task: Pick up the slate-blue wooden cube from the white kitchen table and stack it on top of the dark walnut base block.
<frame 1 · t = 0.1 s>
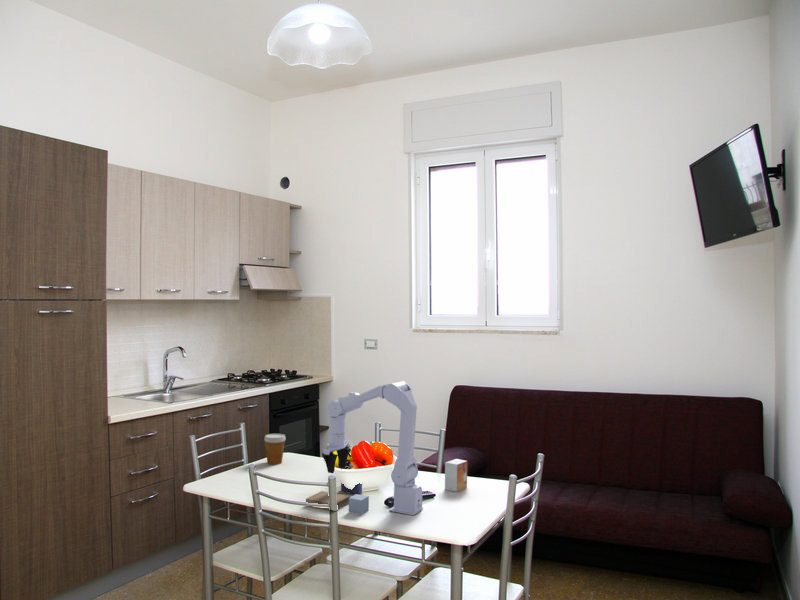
hand: (336, 470, 225), 10 cm above the table, fingers open, 7 cm apart
disposable coffee cup: (274, 463, 272), on the table
slate cube: (358, 511, 211), on the table
walnut base: (328, 504, 217), on the table
small box: (455, 489, 239), on the table
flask: (351, 492, 232), on the table
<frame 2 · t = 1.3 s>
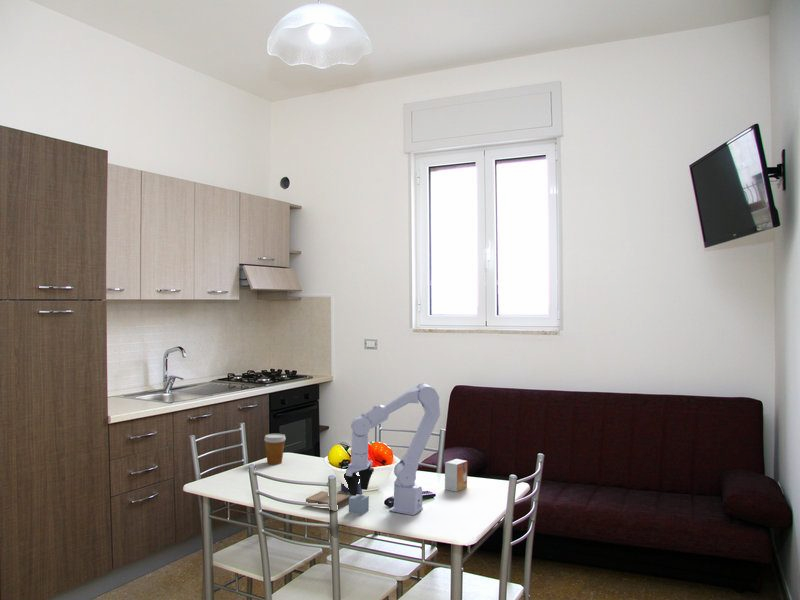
hand: (358, 492, 211), 7 cm above the table, fingers open, 7 cm apart
nothing on the table moved.
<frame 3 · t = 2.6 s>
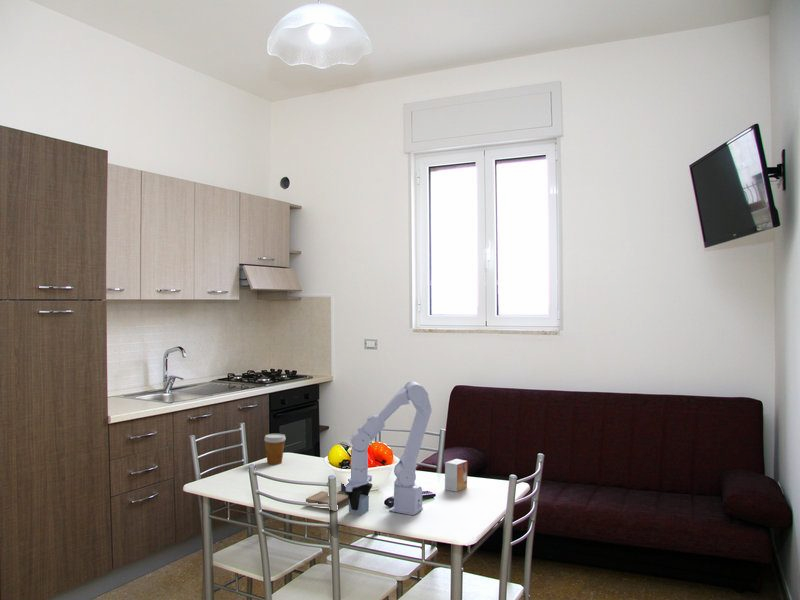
hand: (358, 507, 211), 1 cm above the table, fingers closed on slate cube, 5 cm apart
slate cube: (358, 511, 211), on the table, touching gripper
everything else where it was.
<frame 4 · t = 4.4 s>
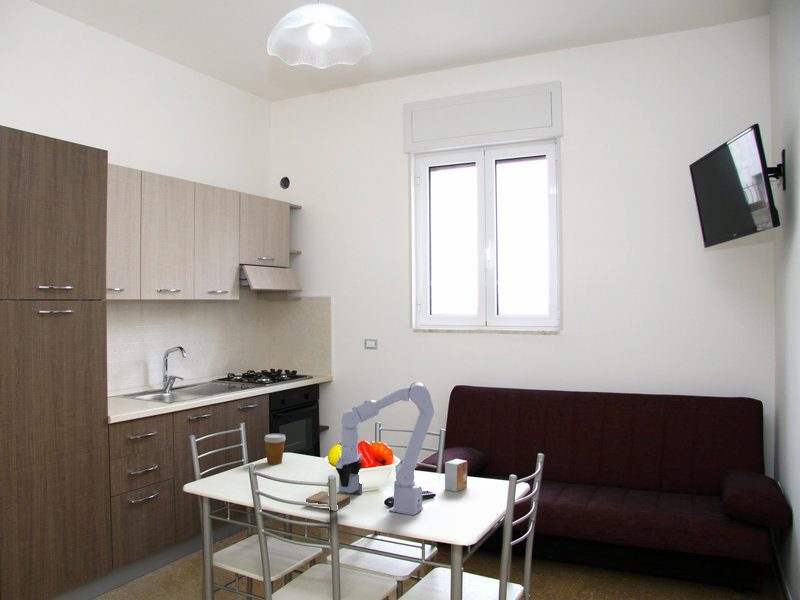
hand: (348, 484, 213), 9 cm above the table, fingers closed on slate cube, 5 cm apart
slate cube: (348, 489, 213), point 7 cm above the table, touching gripper
everything else where it was.
when the fingers open (5 cm above the table, at t = 6.5 s): slate cube stays where it is, resting on walnut base.
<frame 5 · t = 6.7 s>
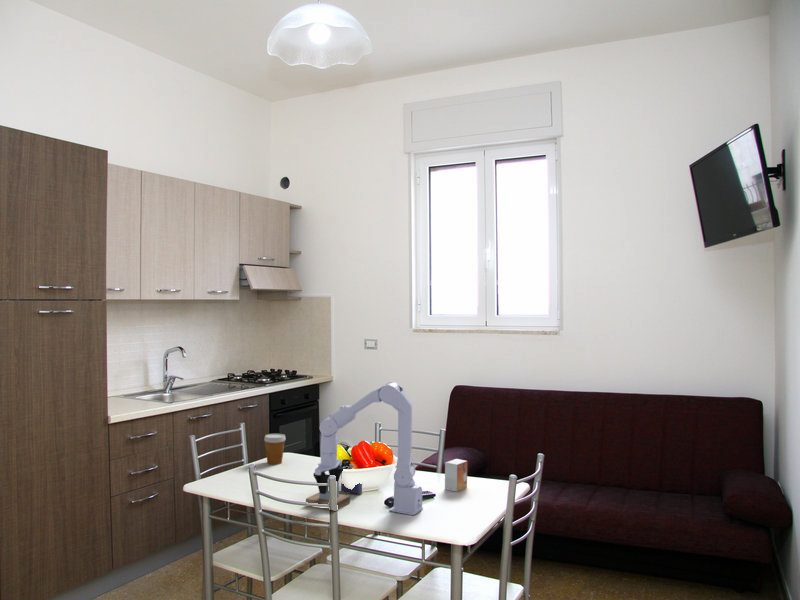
hand: (328, 490, 217), 5 cm above the table, fingers open, 7 cm apart
slate cube: (329, 497, 217), point 2 cm above the table, touching walnut base
everything else where it was.
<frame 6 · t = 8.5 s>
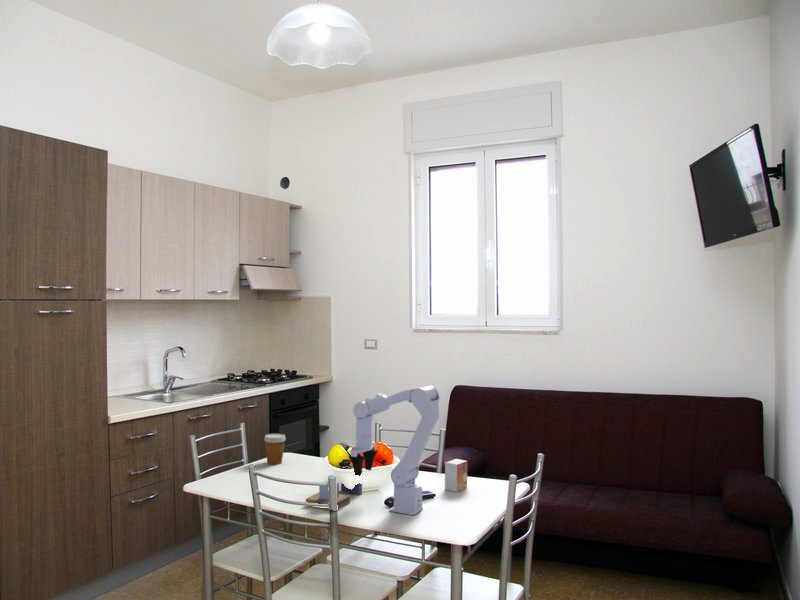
hand: (363, 472, 221), 10 cm above the table, fingers open, 7 cm apart
nothing on the table moved.
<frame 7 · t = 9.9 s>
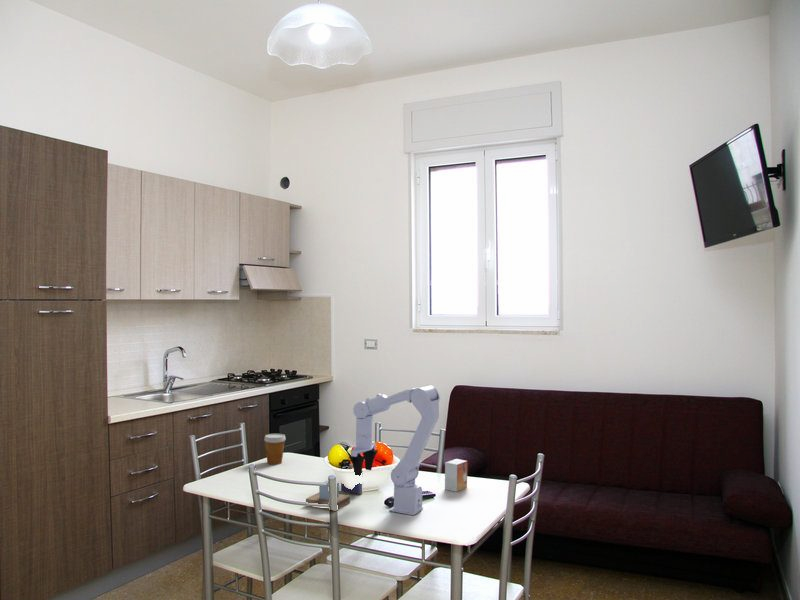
hand: (363, 472, 221), 10 cm above the table, fingers open, 7 cm apart
nothing on the table moved.
at the end: slate cube inside the target area on the walnut base (0.4 cm from its centre), point 2.5 cm above the walnut base's base; slate cube tilted 0°; the gripper is holding nothing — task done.
